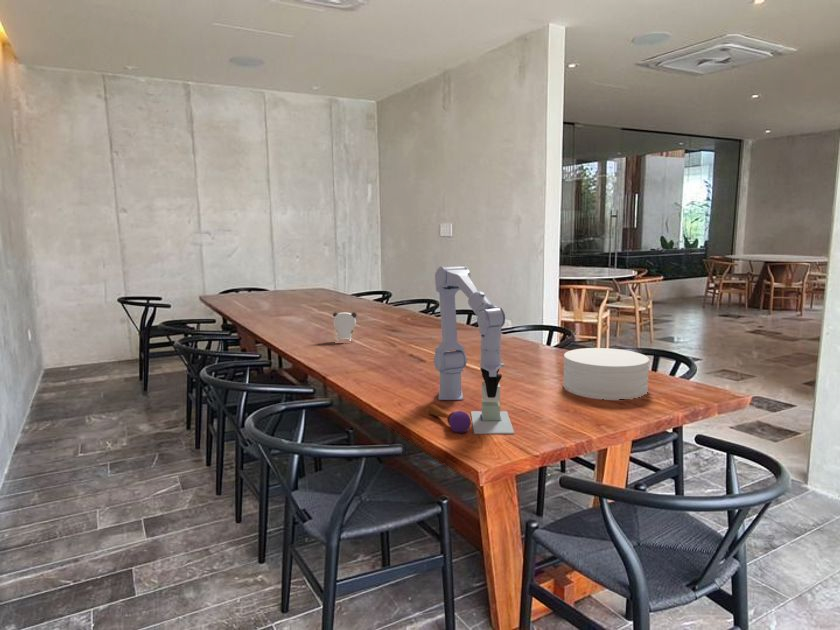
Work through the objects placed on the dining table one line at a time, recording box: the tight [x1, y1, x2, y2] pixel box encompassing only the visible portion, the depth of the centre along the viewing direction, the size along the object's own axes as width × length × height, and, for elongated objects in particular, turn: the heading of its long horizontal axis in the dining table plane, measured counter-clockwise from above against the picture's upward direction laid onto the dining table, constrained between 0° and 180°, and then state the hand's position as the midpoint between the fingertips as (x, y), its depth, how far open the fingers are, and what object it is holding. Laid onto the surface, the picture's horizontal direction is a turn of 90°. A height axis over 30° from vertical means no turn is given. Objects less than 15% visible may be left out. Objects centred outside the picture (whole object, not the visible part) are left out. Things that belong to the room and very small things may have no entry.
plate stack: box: [562, 347, 650, 401], centre depth 194 cm, size 28×28×12 cm
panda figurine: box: [332, 311, 358, 341], centre depth 281 cm, size 12×11×15 cm
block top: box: [481, 381, 501, 403], centre depth 163 cm, size 5×5×4 cm
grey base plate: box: [470, 410, 515, 435], centre depth 162 cm, size 18×11×1 cm, turn 178°
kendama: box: [426, 403, 472, 434], centre depth 161 cm, size 6×6×20 cm
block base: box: [481, 400, 501, 421], centre depth 164 cm, size 5×5×4 cm
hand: (490, 394), depth 163 cm, fingers closed on block top, 5 cm apart
